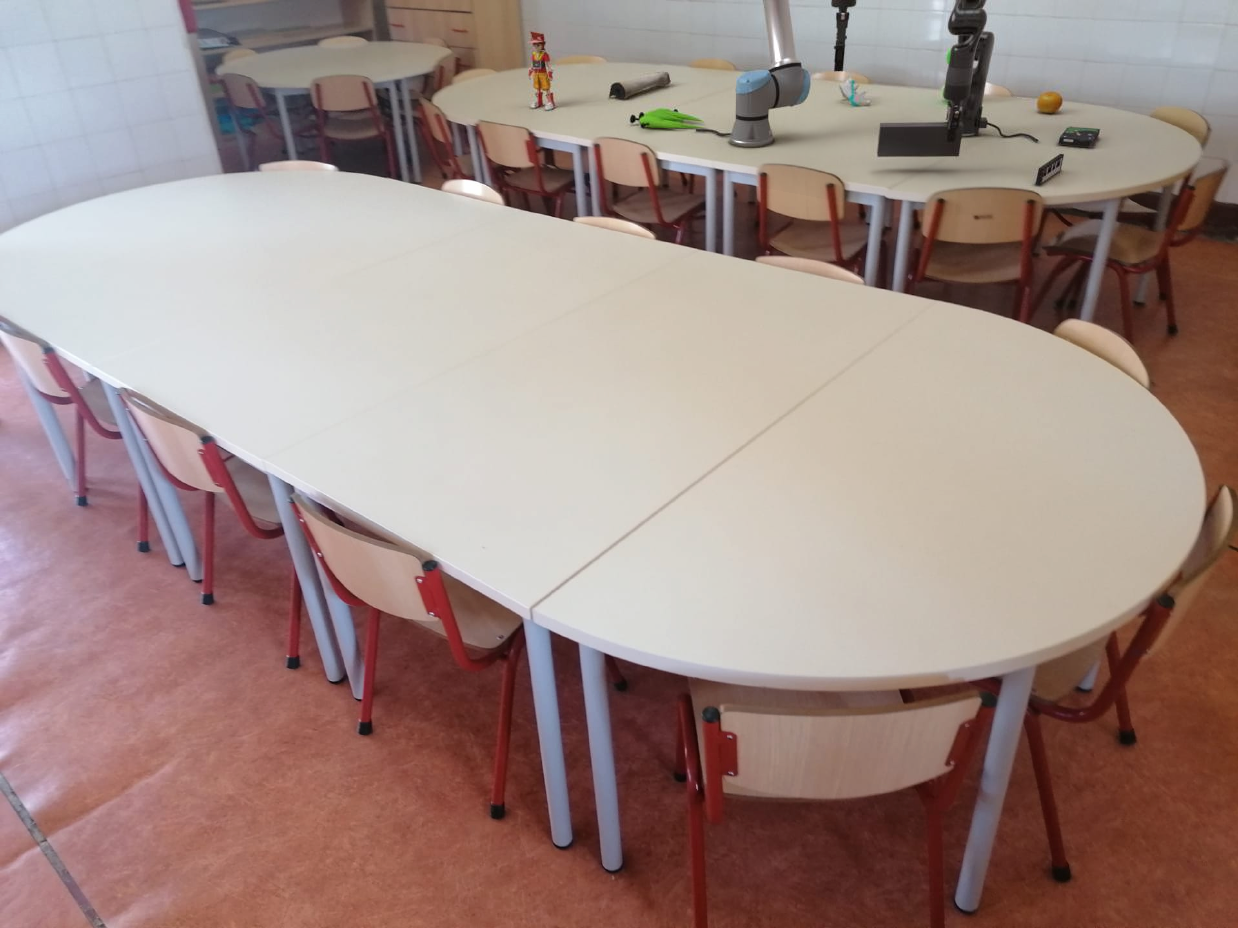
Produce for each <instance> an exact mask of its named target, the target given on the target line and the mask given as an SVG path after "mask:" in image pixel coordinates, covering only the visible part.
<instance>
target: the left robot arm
mask: <svg viewBox="0 0 1238 928" xmlns="http://www.w3.org/2000/svg"><path fill="white" fill-rule="evenodd" d="M762 2H763V10H764V18H765V25H766V32H767V39H768V47H769V56H770V61H771V65H770V66H769V68H768V69H754V70H749V71H746V72H744V73H741V74H740V75H739V76H738V77H737V79H736V85H735V120H734V123H733V126H732V130H731V132H723V133H722V132H720V131H717V130H716V129H715V130H714V129H710V128H695V132H709V133H714V134H716V135H718V136H721V137H727V136H729V143H730V144H731V145H732V146H736V147H740V148H761V147H765V146H768V145H770V144H772V143H773V138H774V135H773V130H772V128H771V125H770V121H769V115H770V114H769V112H770V110H774V109H781V108H787V107H794V106H799V105H802V104H803V103H804V102H806V100H807V98H808V96H809V94H810V91H811V76H810V73H809V71H808V70H807V69H805V68H803V66H802V62H801V61H800V60H799V59H797V55H796V46H795V40H794V32H793V24H792V16H791V10H790V9H791V8H790V1H789V0H762ZM830 5H831V7H832V8H837V9H838V12H835V15H836V16H835V20H836V27H835V28H836V35H835V36H836V37H835V39H836V40H835V45H834V46H833V50H834V66H833V67H834V68H833V72H844V64H845V63H844V62H845V53H846V40H847V39H848V35H846V34H847V29H848V26H849V20H850V12H849V11H848V8H853V7H855V6H856V5H857V0H831V1H830Z"/></svg>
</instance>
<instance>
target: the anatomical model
mask: <svg viewBox="0 0 1238 928" xmlns="http://www.w3.org/2000/svg"><path fill="white" fill-rule="evenodd" d="M855 84H856V81H855V79H853V78H852V77H851V76H849V77H847V79H846V80H845V81H843V82H840V83H839V84H838V85H839V86H838V88H839V90H840V93H841V95H842V98H844V99H848V100H849V103H850V104H851V106H852V107H855V106H856V107H857V106H859V105H869V104H871V102H872V101H871V100H869V99H868V100H867V99H865V95H866V94H867V93H868V91H867V90H863V91H861V92H857V90H858V89H859V86H860V85H859V84H857V85H855ZM854 85H855V86H854Z"/></svg>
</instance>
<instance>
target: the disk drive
mask: <svg viewBox="0 0 1238 928" xmlns="http://www.w3.org/2000/svg"><path fill="white" fill-rule="evenodd" d="M1100 131H1101V129H1100V128H1092V127H1077V126H1067V127H1066V128H1065V130H1064V131H1063V132H1062V133H1061V135H1060V136H1059V139H1058V143H1057V144H1058V145H1061V146H1071V147H1079V148H1080V147H1081V148H1092V147H1093V145H1094V143H1095V142H1096V141H1097V139H1098V137H1099V135H1100Z"/></svg>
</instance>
